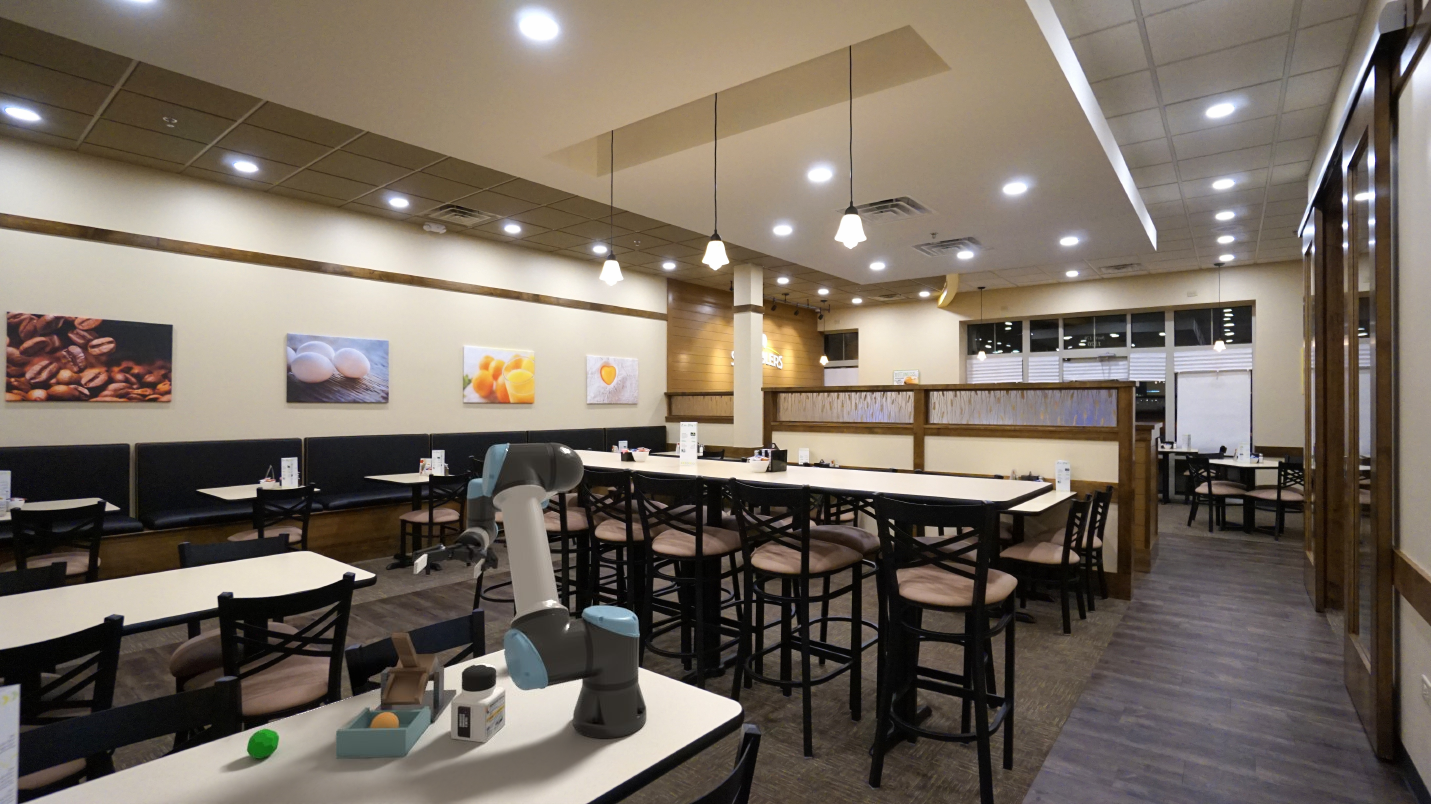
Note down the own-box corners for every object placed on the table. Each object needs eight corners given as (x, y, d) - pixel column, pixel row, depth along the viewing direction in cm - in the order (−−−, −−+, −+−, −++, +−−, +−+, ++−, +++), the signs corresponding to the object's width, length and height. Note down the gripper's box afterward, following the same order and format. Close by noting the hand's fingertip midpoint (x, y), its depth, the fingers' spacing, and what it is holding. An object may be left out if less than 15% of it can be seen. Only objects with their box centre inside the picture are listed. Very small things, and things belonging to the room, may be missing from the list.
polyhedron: (282, 748, 126) (283, 723, 126) (273, 761, 121) (274, 735, 121) (252, 751, 125) (252, 726, 125) (242, 765, 120) (242, 739, 120)
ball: (397, 723, 127) (407, 715, 132) (373, 712, 127) (384, 704, 132) (384, 749, 126) (395, 739, 131) (360, 737, 126) (372, 728, 131)
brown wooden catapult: (403, 665, 148) (384, 619, 138) (444, 664, 149) (428, 618, 139) (384, 714, 139) (363, 669, 129) (428, 713, 140) (410, 668, 130)
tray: (367, 725, 135) (367, 700, 135) (430, 723, 136) (430, 699, 136) (335, 758, 123) (336, 731, 123) (405, 756, 123) (405, 729, 123)
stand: (393, 695, 149) (393, 657, 149) (456, 694, 150) (456, 656, 150) (365, 724, 136) (365, 682, 136) (434, 722, 136) (435, 681, 136)
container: (485, 743, 128) (486, 676, 128) (449, 739, 130) (450, 673, 130) (505, 724, 136) (506, 661, 136) (472, 720, 137) (472, 658, 137)
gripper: (517, 562, 176) (498, 590, 155) (421, 554, 174) (388, 582, 152) (520, 534, 176) (501, 559, 155) (423, 527, 173) (391, 550, 152)
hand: (445, 570), depth 153 cm, fingers open, 13 cm apart
